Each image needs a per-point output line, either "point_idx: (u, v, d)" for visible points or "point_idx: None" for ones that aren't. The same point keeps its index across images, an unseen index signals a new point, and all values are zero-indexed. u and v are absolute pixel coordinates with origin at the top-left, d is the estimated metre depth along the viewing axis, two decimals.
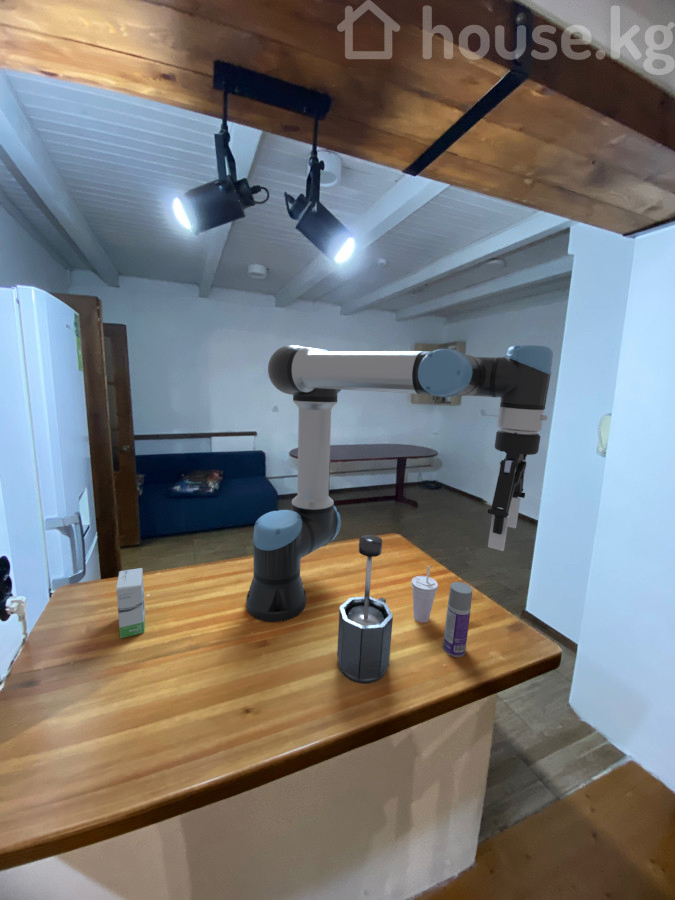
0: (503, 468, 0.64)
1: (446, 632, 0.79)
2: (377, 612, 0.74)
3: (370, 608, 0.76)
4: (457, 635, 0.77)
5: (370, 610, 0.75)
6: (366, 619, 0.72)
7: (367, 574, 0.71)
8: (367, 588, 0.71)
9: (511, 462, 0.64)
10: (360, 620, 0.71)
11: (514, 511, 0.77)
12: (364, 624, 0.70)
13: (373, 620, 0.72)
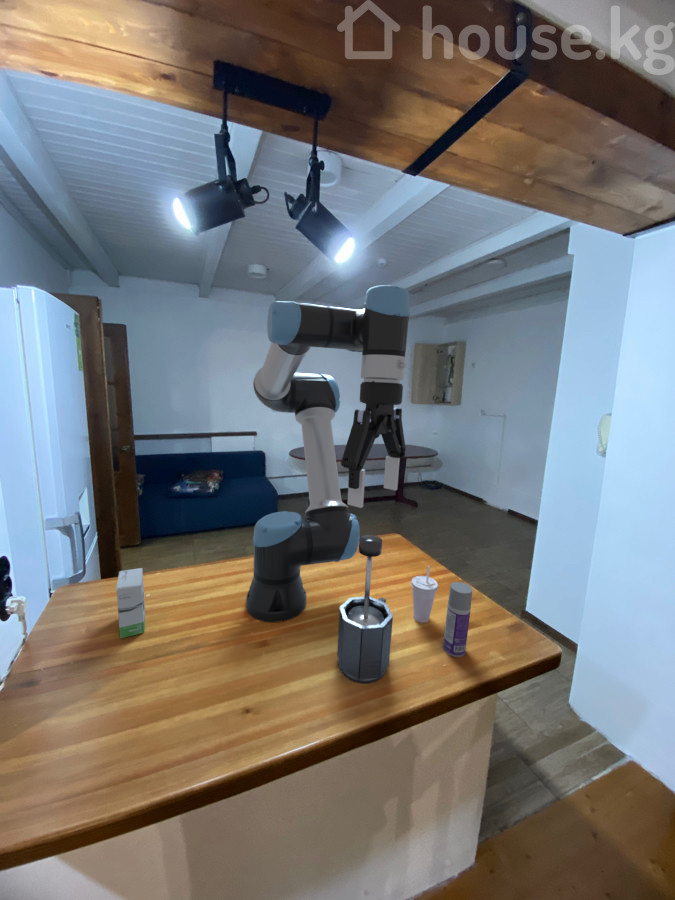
0: (356, 418, 0.60)
1: (446, 632, 0.79)
2: (377, 612, 0.74)
3: (370, 608, 0.76)
4: (457, 635, 0.77)
5: (370, 610, 0.75)
6: (366, 619, 0.72)
7: (367, 574, 0.71)
8: (367, 588, 0.71)
9: (363, 411, 0.60)
10: (360, 620, 0.71)
11: (393, 472, 0.73)
12: (364, 624, 0.70)
13: (373, 620, 0.72)
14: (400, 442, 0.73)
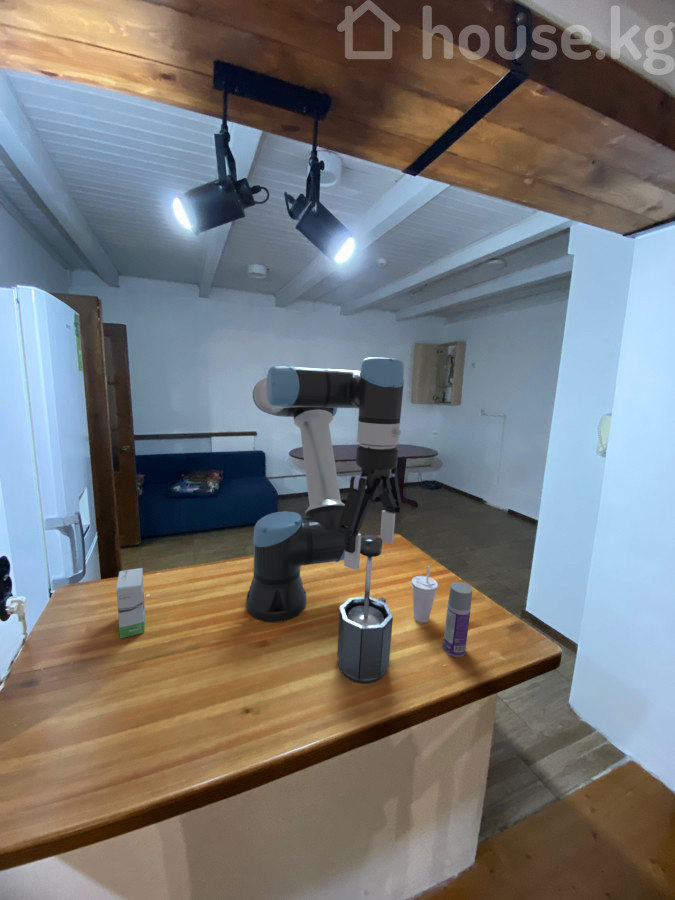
0: (352, 484, 0.62)
1: (446, 632, 0.79)
2: (377, 612, 0.74)
3: (370, 608, 0.76)
4: (457, 635, 0.77)
5: (370, 610, 0.75)
6: (366, 619, 0.72)
7: (367, 574, 0.71)
8: (367, 588, 0.71)
9: (359, 478, 0.62)
10: (360, 620, 0.71)
11: (389, 526, 0.74)
12: (364, 624, 0.70)
13: (373, 620, 0.72)
14: (396, 497, 0.75)
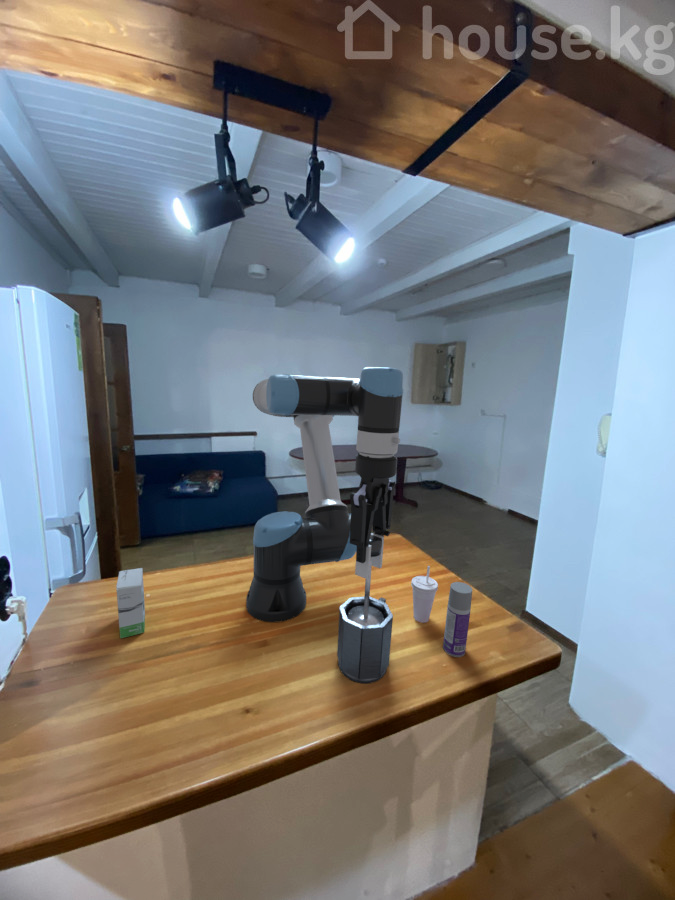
0: (353, 502, 0.64)
1: (446, 632, 0.79)
2: (377, 612, 0.74)
3: (370, 608, 0.76)
4: (457, 635, 0.77)
5: (370, 610, 0.75)
6: (366, 619, 0.72)
7: None
8: (367, 588, 0.71)
9: (357, 497, 0.62)
10: (360, 620, 0.71)
11: None
12: (364, 624, 0.70)
13: (373, 620, 0.72)
14: (387, 516, 0.73)
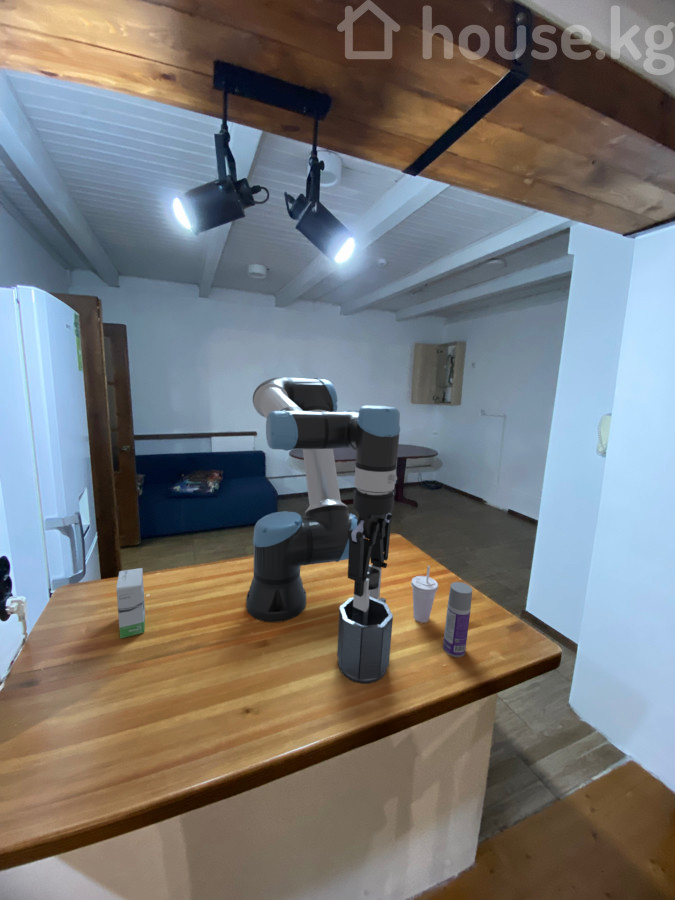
0: (351, 538, 0.65)
1: (446, 632, 0.79)
2: None
3: None
4: (457, 635, 0.77)
5: None
6: None
7: None
8: (365, 620, 0.73)
9: (355, 534, 0.64)
10: None
11: None
12: None
13: None
14: (384, 548, 0.74)
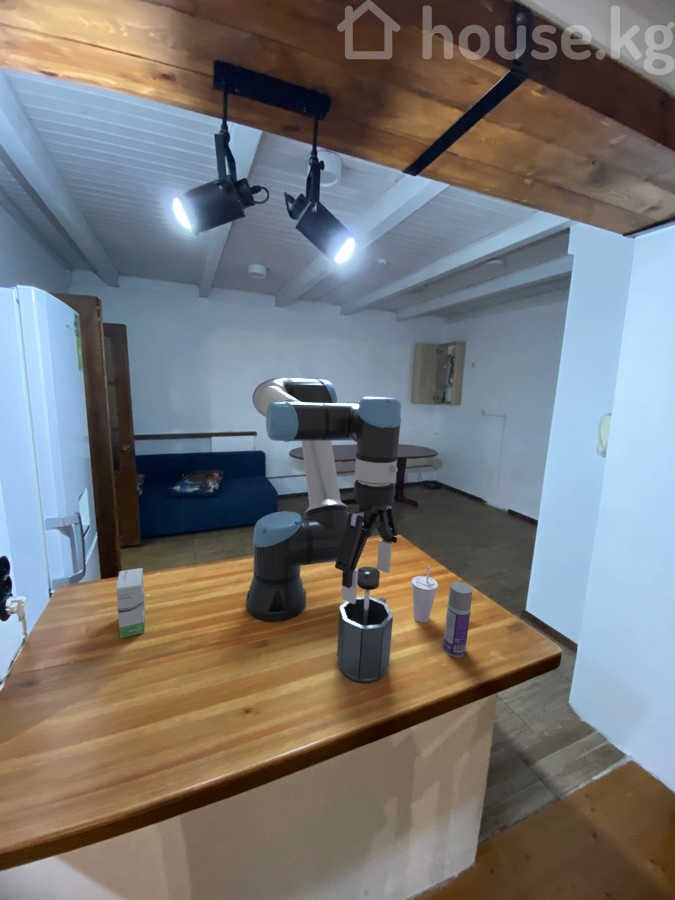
0: (350, 521, 0.64)
1: (446, 632, 0.79)
2: None
3: None
4: (457, 635, 0.77)
5: None
6: None
7: (365, 606, 0.72)
8: (365, 620, 0.73)
9: (356, 516, 0.63)
10: None
11: (386, 556, 0.76)
12: None
13: None
14: (392, 527, 0.76)
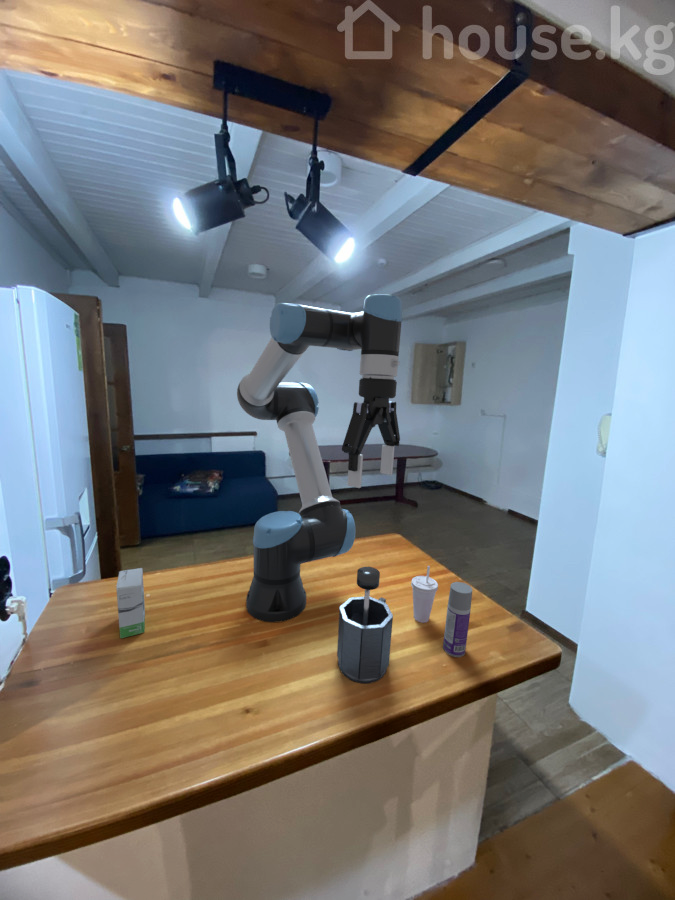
0: (355, 409, 0.69)
1: (446, 632, 0.79)
2: None
3: None
4: (457, 635, 0.77)
5: None
6: None
7: (365, 606, 0.72)
8: (365, 620, 0.73)
9: (361, 403, 0.69)
10: None
11: (389, 458, 0.81)
12: None
13: None
14: (395, 432, 0.82)
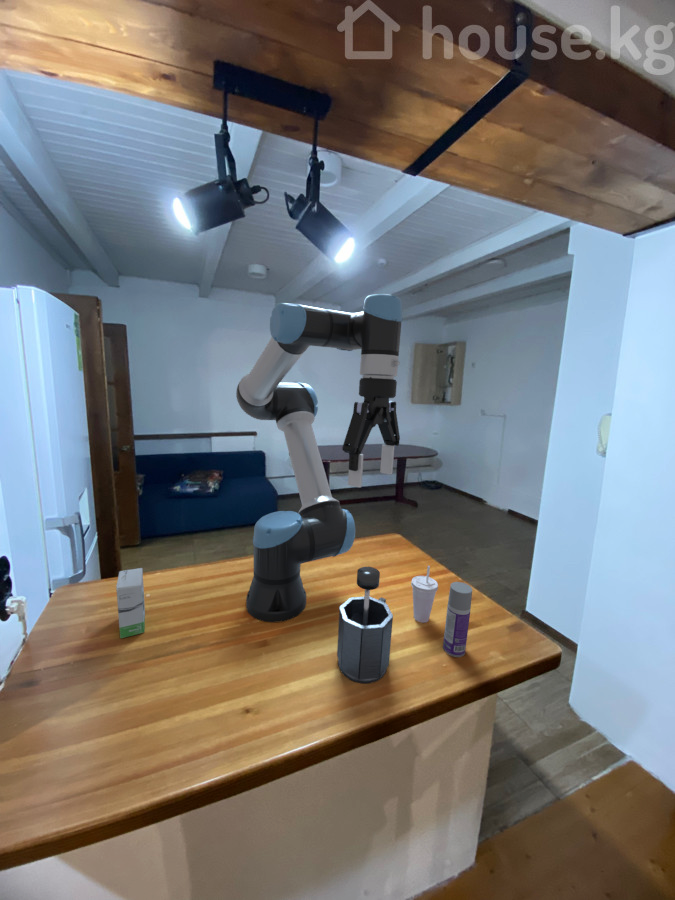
0: (356, 409, 0.69)
1: (446, 632, 0.79)
2: None
3: None
4: (457, 635, 0.77)
5: None
6: None
7: (365, 606, 0.72)
8: (365, 620, 0.73)
9: (362, 403, 0.69)
10: None
11: (389, 458, 0.82)
12: None
13: None
14: (395, 432, 0.82)
